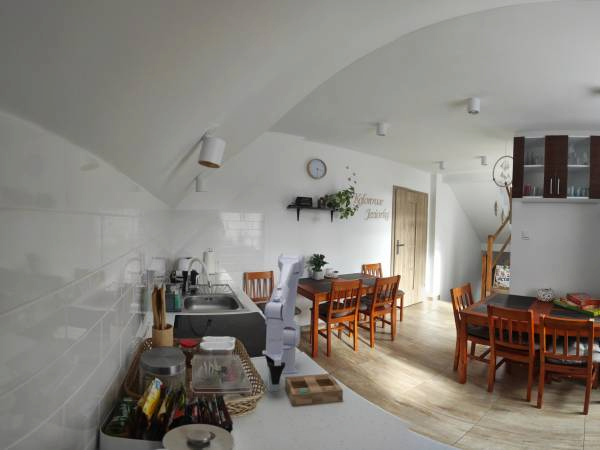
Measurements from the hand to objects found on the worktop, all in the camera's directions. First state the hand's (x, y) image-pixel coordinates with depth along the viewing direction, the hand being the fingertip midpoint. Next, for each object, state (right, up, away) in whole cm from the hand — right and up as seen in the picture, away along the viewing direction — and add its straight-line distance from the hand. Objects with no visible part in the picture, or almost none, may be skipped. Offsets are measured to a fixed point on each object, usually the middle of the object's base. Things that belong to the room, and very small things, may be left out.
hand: (273, 378), depth 108 cm
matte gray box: (0, -3, 0) cm, 3 cm away
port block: (+13, -4, -3) cm, 14 cm away
